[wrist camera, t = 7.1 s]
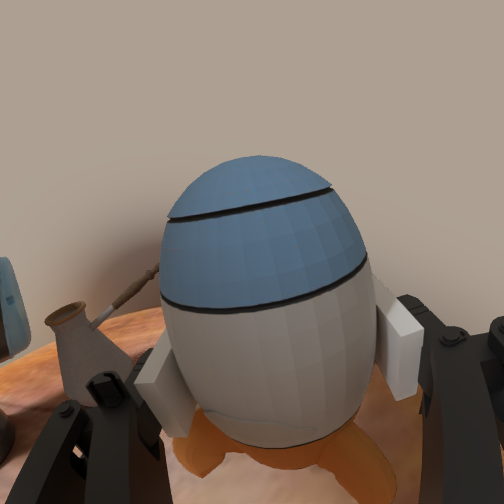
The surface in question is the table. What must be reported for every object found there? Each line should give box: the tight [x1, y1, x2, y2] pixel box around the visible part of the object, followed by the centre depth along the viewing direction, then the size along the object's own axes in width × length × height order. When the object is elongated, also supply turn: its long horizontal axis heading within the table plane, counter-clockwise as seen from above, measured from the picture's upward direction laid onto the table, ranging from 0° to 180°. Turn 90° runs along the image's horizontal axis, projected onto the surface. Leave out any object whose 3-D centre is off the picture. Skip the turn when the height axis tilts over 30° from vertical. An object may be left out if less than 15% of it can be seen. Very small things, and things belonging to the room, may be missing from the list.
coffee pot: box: [45, 263, 160, 407], centre depth 31 cm, size 21×12×15 cm, turn 104°
